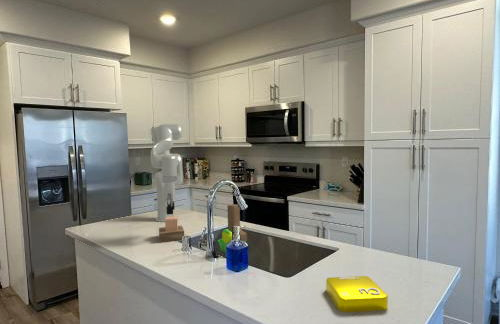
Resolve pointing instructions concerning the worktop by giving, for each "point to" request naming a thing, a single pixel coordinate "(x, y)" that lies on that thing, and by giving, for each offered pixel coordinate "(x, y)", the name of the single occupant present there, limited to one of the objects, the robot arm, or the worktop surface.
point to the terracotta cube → (171, 223)
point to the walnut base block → (170, 235)
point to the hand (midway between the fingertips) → (170, 211)
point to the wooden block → (235, 220)
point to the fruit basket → (225, 239)
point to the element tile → (356, 294)
